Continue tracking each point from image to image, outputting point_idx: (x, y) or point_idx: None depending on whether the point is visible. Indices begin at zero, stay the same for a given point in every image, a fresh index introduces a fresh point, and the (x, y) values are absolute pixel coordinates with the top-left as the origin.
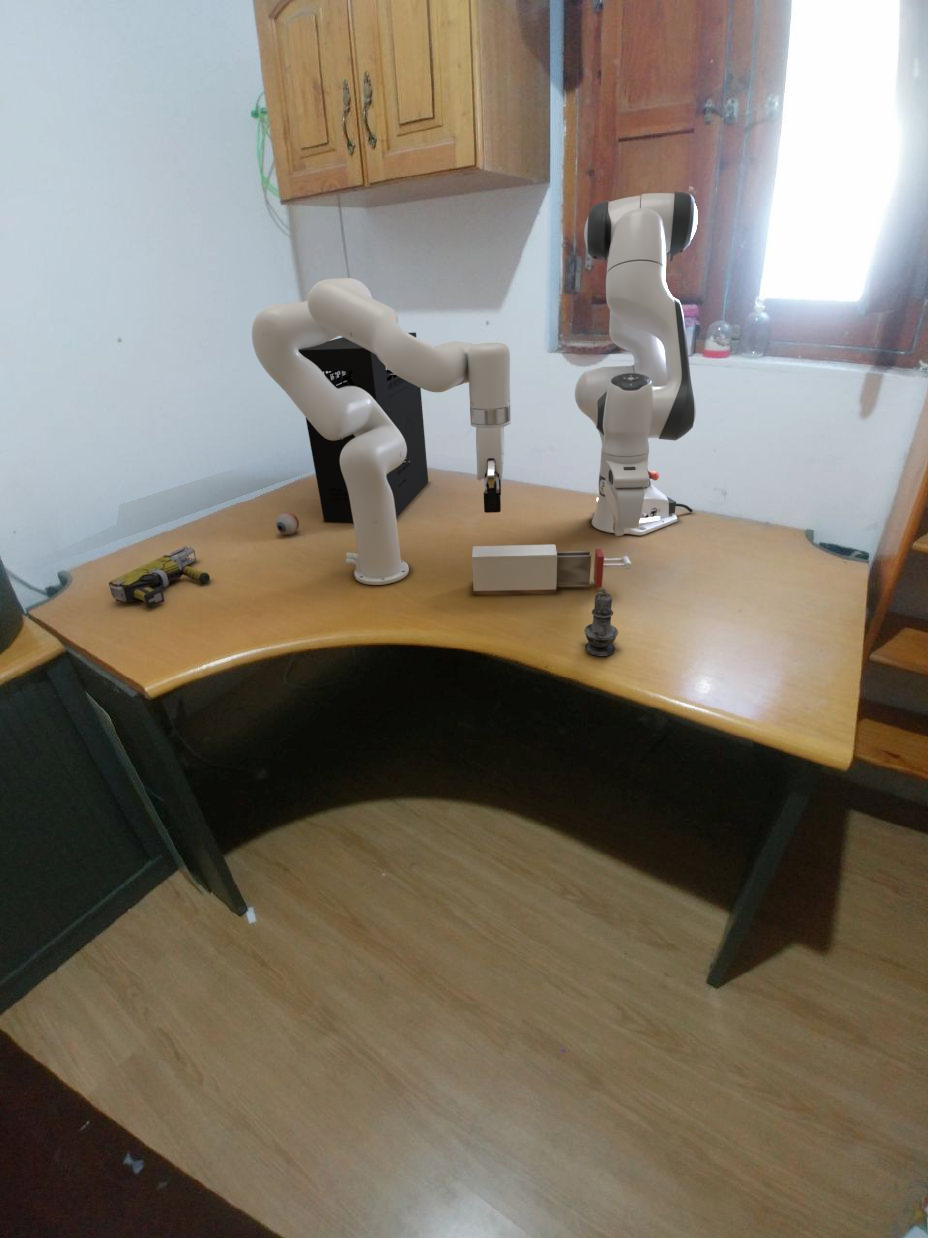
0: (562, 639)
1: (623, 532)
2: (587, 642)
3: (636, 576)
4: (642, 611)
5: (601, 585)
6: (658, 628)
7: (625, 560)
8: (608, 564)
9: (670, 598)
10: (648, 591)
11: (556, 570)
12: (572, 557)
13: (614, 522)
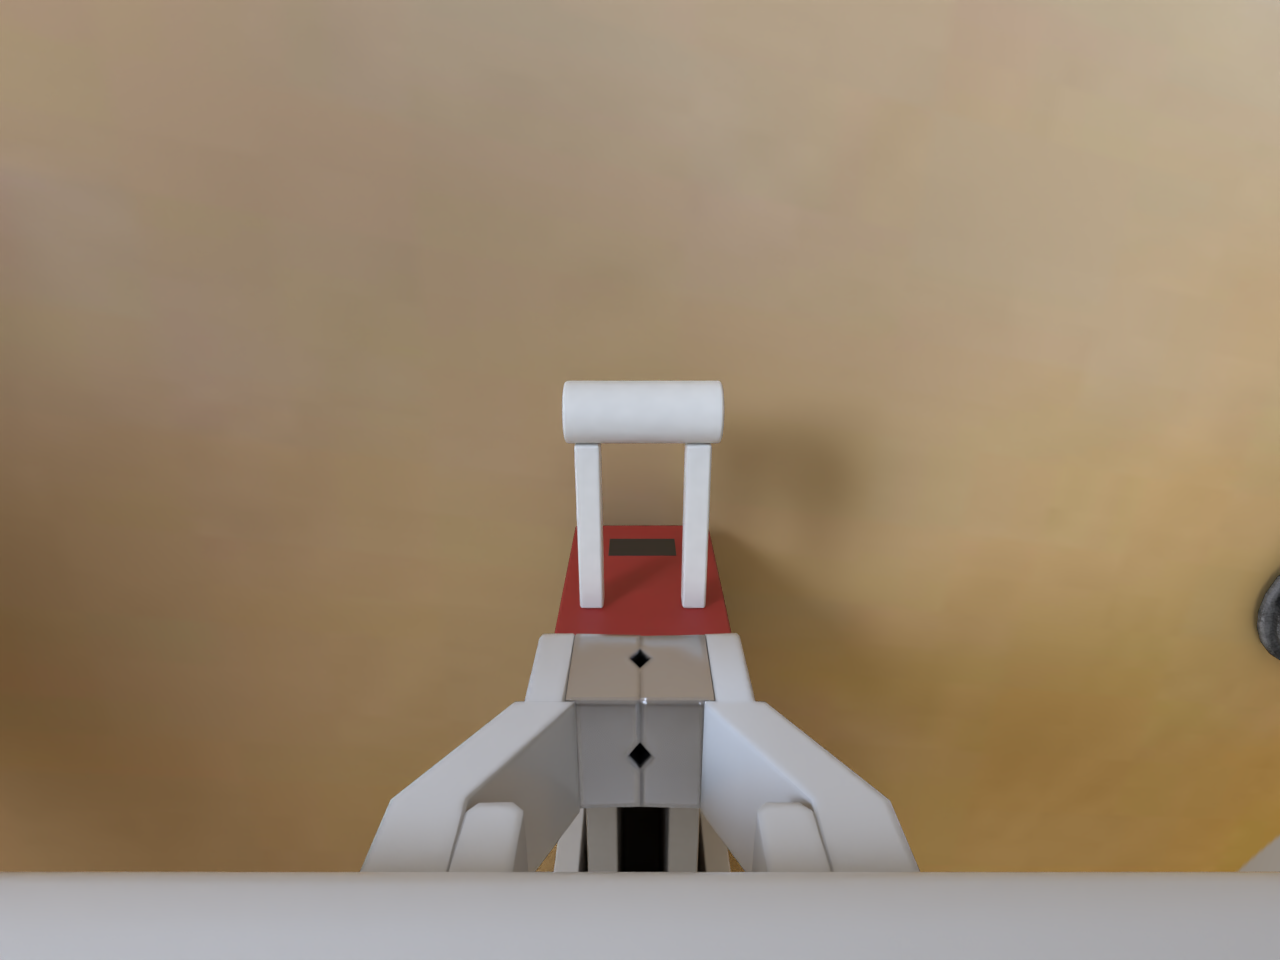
0: (1180, 742)
1: (743, 654)
2: (1277, 656)
3: (477, 243)
4: (1004, 305)
5: (708, 534)
6: (1242, 245)
7: (660, 434)
8: (701, 570)
9: (857, 47)
10: (727, 201)
11: (728, 866)
12: (697, 852)
13: (572, 808)
